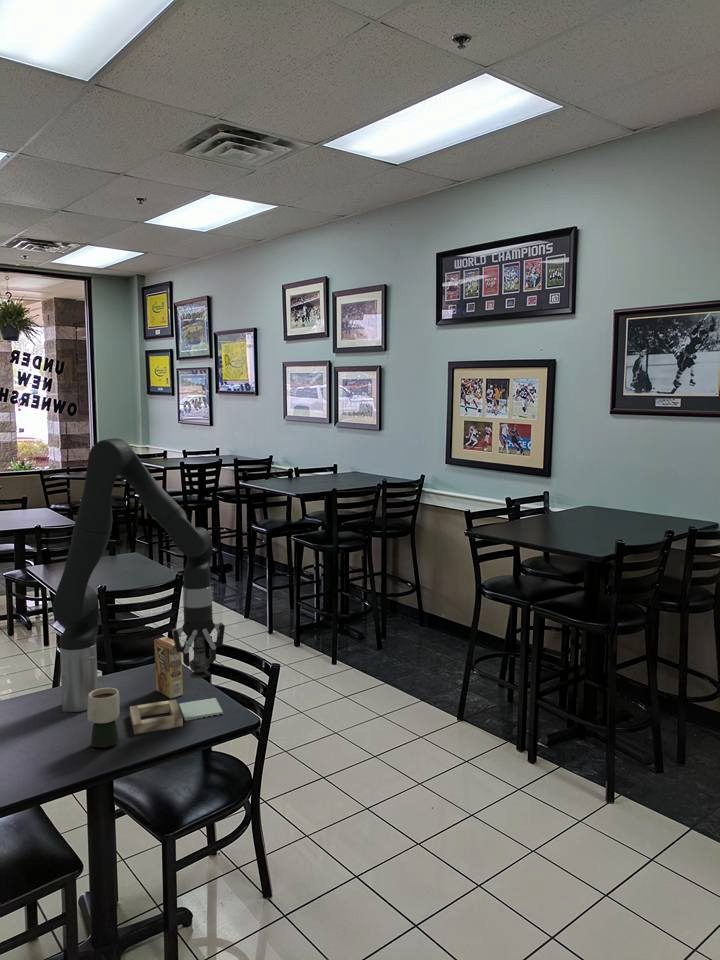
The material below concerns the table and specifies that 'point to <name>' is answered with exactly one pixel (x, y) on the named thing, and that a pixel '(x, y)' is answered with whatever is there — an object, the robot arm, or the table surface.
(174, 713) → the beige square frame
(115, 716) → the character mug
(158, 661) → the candy box
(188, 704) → the coaster
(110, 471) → the robot arm
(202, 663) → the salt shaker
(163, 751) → the table surface
